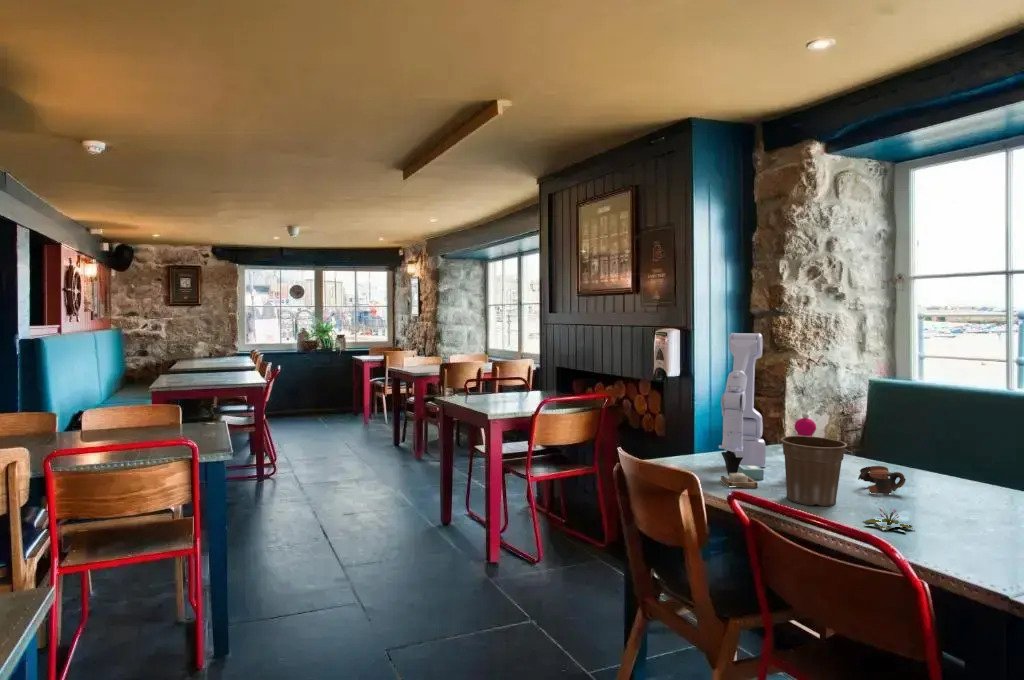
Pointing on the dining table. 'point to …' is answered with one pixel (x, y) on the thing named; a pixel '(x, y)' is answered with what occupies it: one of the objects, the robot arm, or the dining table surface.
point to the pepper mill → (805, 426)
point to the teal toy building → (752, 471)
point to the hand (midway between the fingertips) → (732, 476)
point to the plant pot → (812, 469)
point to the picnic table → (741, 483)
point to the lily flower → (887, 520)
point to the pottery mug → (881, 479)
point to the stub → (738, 477)
